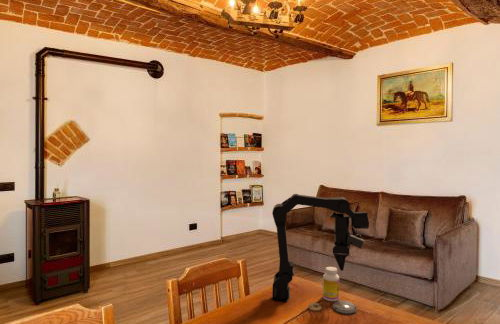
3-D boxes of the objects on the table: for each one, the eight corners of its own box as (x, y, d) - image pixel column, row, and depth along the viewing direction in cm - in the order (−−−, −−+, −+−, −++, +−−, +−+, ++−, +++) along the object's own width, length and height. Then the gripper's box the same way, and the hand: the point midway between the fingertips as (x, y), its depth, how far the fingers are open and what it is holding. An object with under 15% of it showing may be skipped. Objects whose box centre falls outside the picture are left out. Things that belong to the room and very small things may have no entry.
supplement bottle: (339, 302, 144) (339, 272, 143) (322, 301, 145) (323, 270, 145) (338, 295, 151) (339, 266, 150) (322, 294, 152) (323, 265, 151)
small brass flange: (307, 310, 137) (307, 307, 137) (309, 304, 142) (309, 302, 142) (320, 312, 136) (320, 309, 136) (322, 306, 141) (322, 303, 141)
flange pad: (331, 312, 136) (331, 308, 136) (333, 302, 145) (333, 298, 145) (356, 315, 133) (356, 312, 133) (356, 305, 142) (356, 302, 142)
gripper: (362, 232, 131) (363, 275, 130) (362, 226, 149) (363, 264, 148) (332, 231, 134) (332, 272, 134) (335, 225, 152) (336, 262, 151)
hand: (342, 267), depth 142 cm, fingers open, 9 cm apart
